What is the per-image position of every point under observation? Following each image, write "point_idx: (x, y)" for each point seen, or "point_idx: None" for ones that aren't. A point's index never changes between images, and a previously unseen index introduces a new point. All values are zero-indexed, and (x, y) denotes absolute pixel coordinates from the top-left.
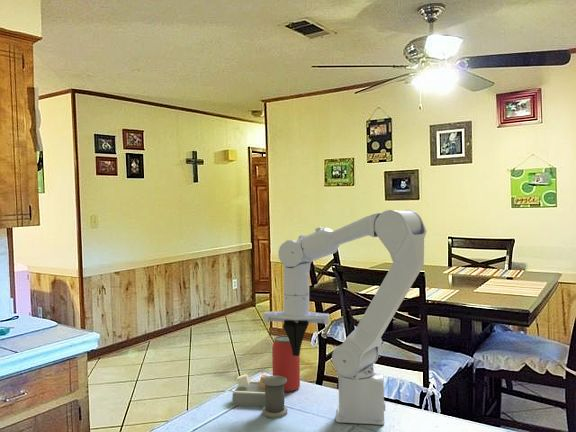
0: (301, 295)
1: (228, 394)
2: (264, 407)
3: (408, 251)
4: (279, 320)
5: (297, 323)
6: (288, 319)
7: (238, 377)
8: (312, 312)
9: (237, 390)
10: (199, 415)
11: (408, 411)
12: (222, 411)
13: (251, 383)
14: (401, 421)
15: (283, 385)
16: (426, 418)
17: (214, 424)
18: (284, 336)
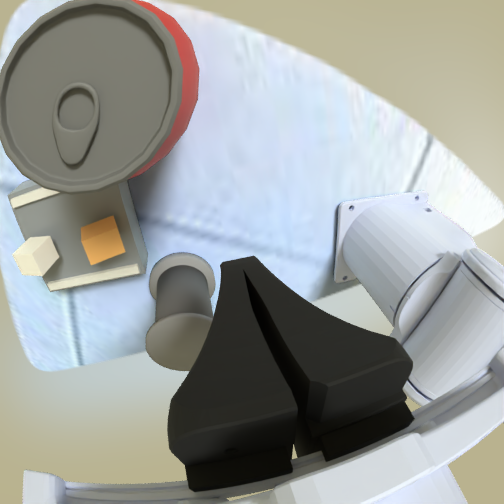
0: None
1: (6, 214)
2: (151, 286)
3: None
4: (156, 496)
5: (310, 449)
6: (235, 494)
7: (20, 267)
8: (484, 434)
9: None
10: (43, 332)
11: (459, 185)
12: (64, 307)
13: (42, 201)
14: None
15: None
16: (471, 209)
17: (95, 353)
18: (45, 24)
